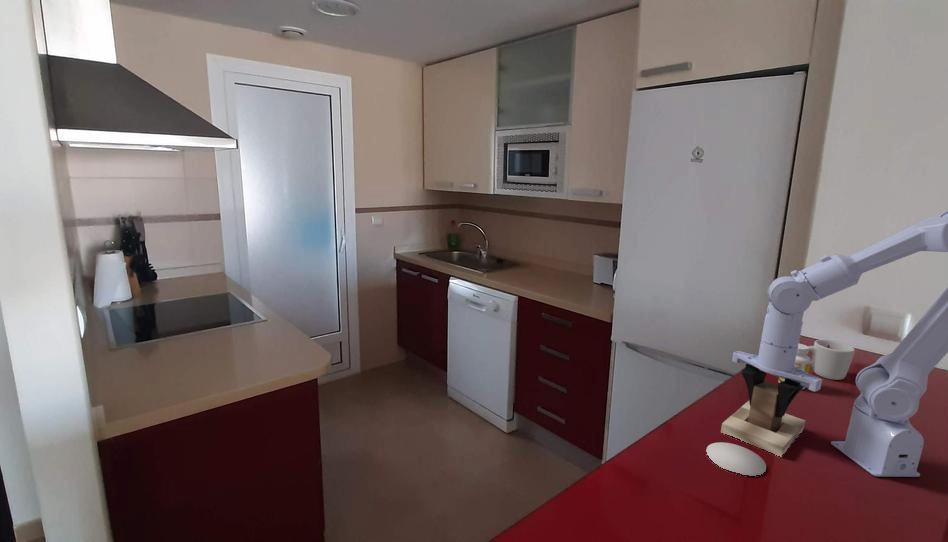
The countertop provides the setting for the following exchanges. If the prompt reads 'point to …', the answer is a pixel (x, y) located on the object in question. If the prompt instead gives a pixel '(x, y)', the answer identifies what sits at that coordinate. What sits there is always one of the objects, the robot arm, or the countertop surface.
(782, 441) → the holder block
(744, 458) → the coaster
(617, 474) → the countertop surface
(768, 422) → the plug peg
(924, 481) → the countertop surface
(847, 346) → the cup
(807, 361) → the supplement bottle
